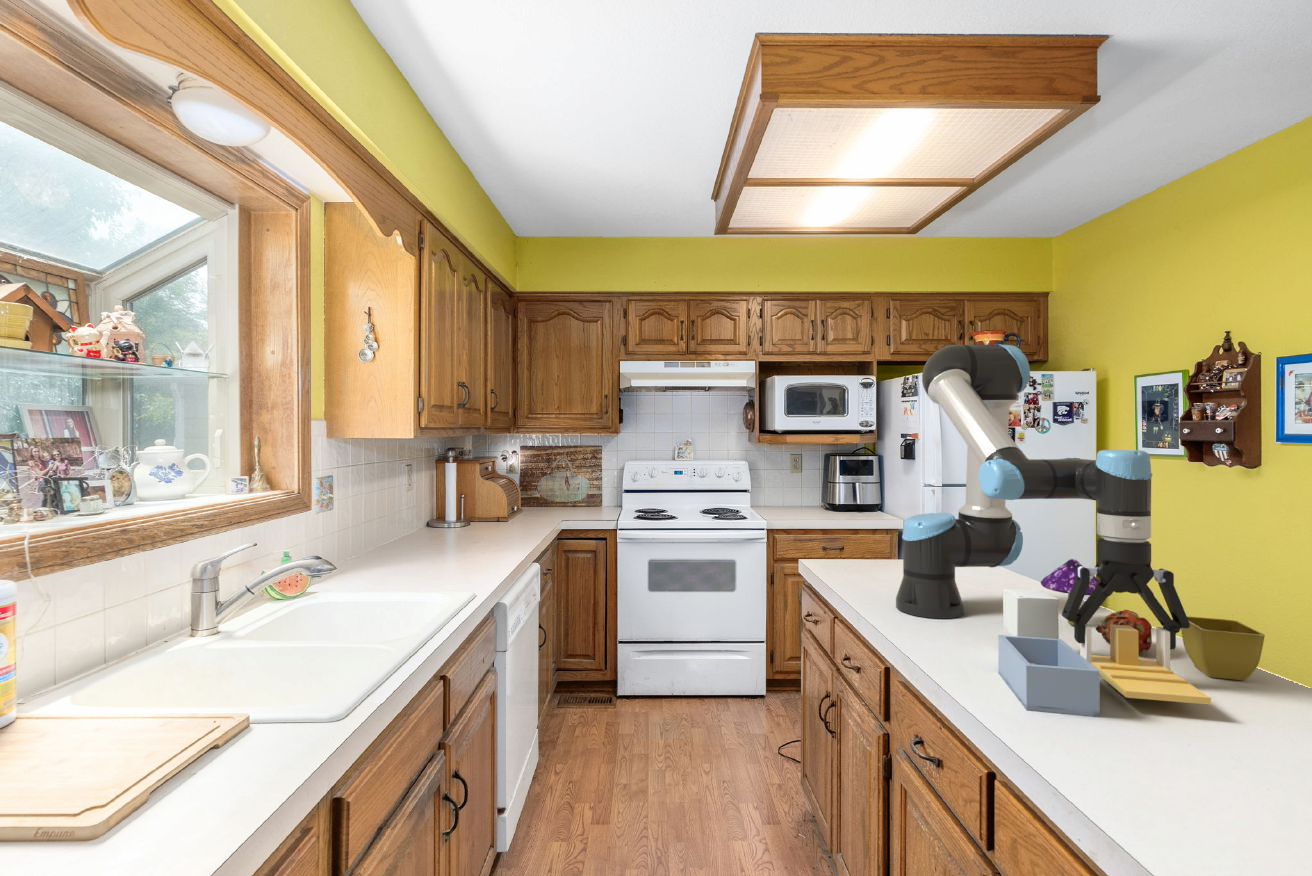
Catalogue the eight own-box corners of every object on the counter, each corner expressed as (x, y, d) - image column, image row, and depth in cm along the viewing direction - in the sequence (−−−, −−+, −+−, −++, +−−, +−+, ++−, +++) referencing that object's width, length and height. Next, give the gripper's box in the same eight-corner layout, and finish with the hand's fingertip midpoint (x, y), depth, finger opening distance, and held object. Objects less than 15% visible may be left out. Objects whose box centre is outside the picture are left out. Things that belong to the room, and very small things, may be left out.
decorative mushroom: (1039, 628, 135) (1039, 561, 135) (1041, 614, 145) (1041, 551, 145) (1109, 638, 128) (1109, 567, 128) (1106, 622, 139) (1105, 557, 138)
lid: (1082, 663, 110) (1081, 621, 110) (1153, 668, 107) (1153, 625, 107) (1125, 701, 95) (1125, 652, 95) (1210, 708, 92) (1210, 658, 92)
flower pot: (1236, 668, 112) (1236, 619, 112) (1266, 687, 104) (1266, 634, 103) (1178, 662, 115) (1178, 615, 115) (1202, 680, 106) (1202, 629, 106)
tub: (998, 673, 110) (998, 634, 110) (1061, 678, 108) (1061, 638, 108) (1026, 709, 96) (1026, 665, 96) (1099, 716, 93) (1099, 671, 93)
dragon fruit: (1130, 668, 116) (1114, 656, 127) (1174, 646, 114) (1154, 636, 125) (1096, 627, 119) (1084, 619, 130) (1139, 605, 117) (1123, 599, 128)
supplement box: (1060, 666, 113) (1059, 599, 113) (1016, 664, 115) (1016, 597, 115) (1043, 652, 120) (1043, 589, 120) (1002, 650, 122) (1002, 587, 122)
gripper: (1055, 539, 105) (1056, 666, 106) (1217, 544, 100) (1218, 678, 100) (1040, 532, 113) (1040, 651, 113) (1190, 537, 107) (1190, 661, 107)
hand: (1123, 664), depth 106 cm, fingers closed on lid, 11 cm apart
